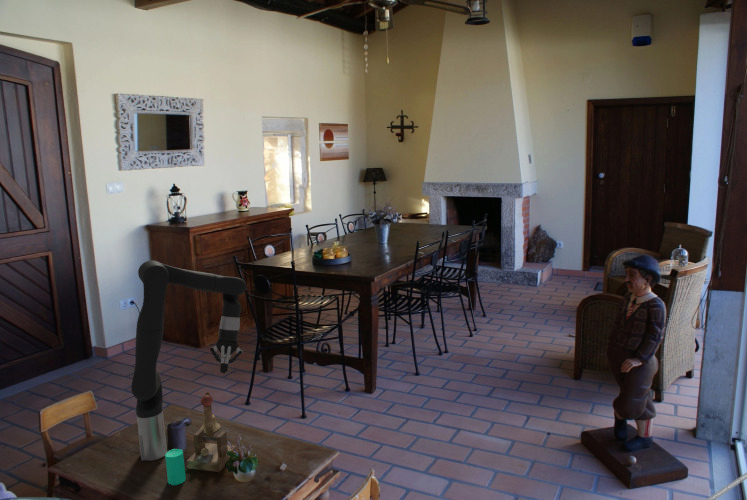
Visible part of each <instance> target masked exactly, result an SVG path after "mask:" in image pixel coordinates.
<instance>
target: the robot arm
mask: <svg viewBox="0 0 747 500" xmlns="http://www.w3.org/2000/svg"><path fill="white" fill-rule="evenodd" d="M137 275H138V278H139V280H140V281H141V282H142V284H143V285H142V286H143V301H142V306H141V308H140V311H139V314H138V318H137V322H136V330H135V331H136V333H135V354H134V355H135V364H134V371H133V375H132V376H133V377H132V381H131V386H130V389H131V393H132V395H133V397H134V399H136V406H135V412H136V420H137V421H136V422H137V430H138V431H137V432H138V442H139V443H138V444H139V451H140V452H139V453H140V458H141V462H142V461H150V462H151V461H157V460H160V459H162V458H163V457H165V454H166V453H167V452H168V447H167V436H166V429H165V420H164V412H163V402H164V401H163V399H164V398H163V387H162V386H163V385H162V378H161V375H160V374H159V373H158V372H157V364H158V359H159V355H160V353H161V348H162V343H163V338H164V327H165V326H164V324H165V300H166V295H167V289H168V285H169V284H170V285H172V284H173V285H176V286H177V285H178V286H182V287H184V288H189V289H192V290H195V291H200V292H208V293H221V294H222V304H223V305H222V311H221V318H220V322H219V327H218V337H217V342H216V343H215V345H214V346H212V347H210V348H209V350H210V353H212V355H213V357H214V359H215V360H216V362H218V363H220V369H219V371H220V373H221V374H226V373H228V371H229V365H230V363H231V364H232V363H234V362H235V361H236V360H237V358H238V359H239V357H240V356H241V355H242V353H244V350H243V349H241V348H240V347H239V343H238V341H239V333H240V329H241V327H240V326H241V325H240V323H241V313H242V304H241V303H240V299H239V298H240V297H239V296H242V295H243V294H245V292H247V291H246V290H247V282H246V281H245V280H244V279H243V278H240V277H235V276H226V275H225V276H224V275H220V274H215V273H210V272H203V271H198V270H197V271H195V270H189V269H183V268H179V267H174V266H171V265H168V264H165V263H162V262H160V261H157V260H147V261H145V262H143V263H141V264H140V266H139V268H138V271H137ZM217 351H218V352H219V353H220V355H219V354H218V352H217ZM235 351H236V352H235ZM234 352H235V353H236V354H235V355H233V354H234ZM232 355H233V357H232ZM231 357H232V358H231Z"/></svg>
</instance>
